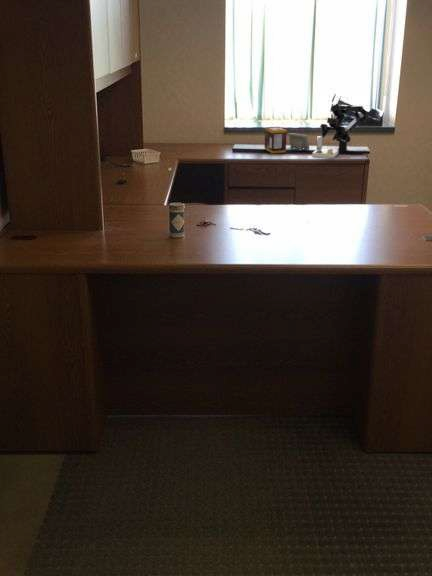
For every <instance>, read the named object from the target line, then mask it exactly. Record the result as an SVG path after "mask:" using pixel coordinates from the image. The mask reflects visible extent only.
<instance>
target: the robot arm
mask: <svg viewBox="0 0 432 576" xmlns="http://www.w3.org/2000/svg"><path fill="white" fill-rule="evenodd" d="M330 110H331V113H332V114H333V116H334V118H332V117H328V118H327V119H326V123H327V124H326V123H321V124H320V126H319V128H321V130H322V133H321V136H322V137H323V139H324V138H325V136H327V134H328V132H329V131H334V132H335V134H334V136H333V138H332V141H335V140H336V141H337V142H338V148H337V149H336V150H338V151H340V150H341V151H343V152H346V150H347V149H348V143H349V142H351V138H352V137H350V134H351V133H352V131H354V130H355V129H356V128H357V127H358V126H359V125H360V124H364V123H365V122H367V121H368V119H369V114H368V111H367V110H365V108H364V107H363V105H358V104H357V105H348V104H347V105H346V104H341V105H340V104H339V103H336V104H334V105H332V106H331V107H330ZM351 113H354V119H353V120H352V121H351V122H350V123H348V125H346V126H342V123H343V121H344V120H347V118H346V115H349V114H351ZM347 151H348V150H347Z"/></svg>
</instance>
